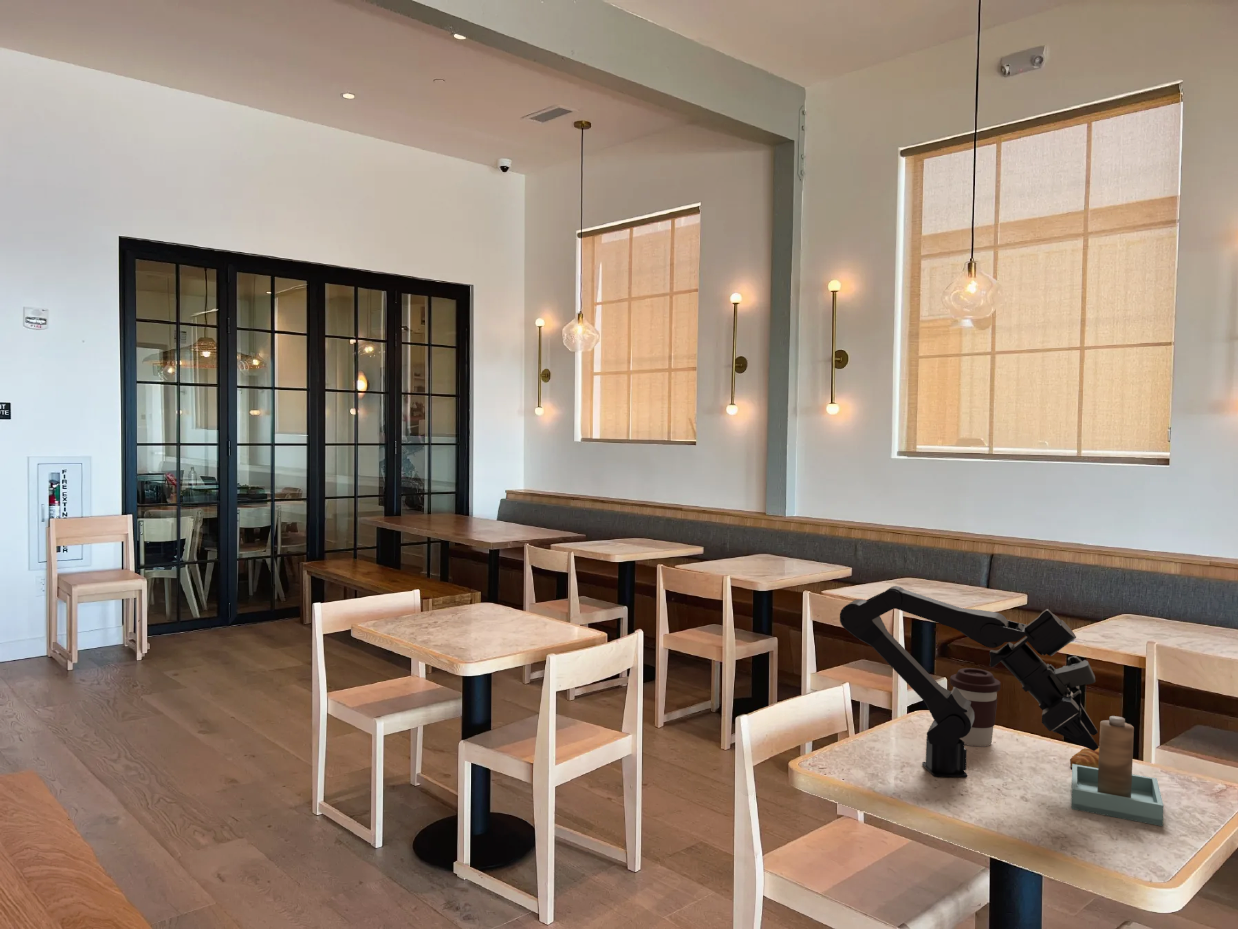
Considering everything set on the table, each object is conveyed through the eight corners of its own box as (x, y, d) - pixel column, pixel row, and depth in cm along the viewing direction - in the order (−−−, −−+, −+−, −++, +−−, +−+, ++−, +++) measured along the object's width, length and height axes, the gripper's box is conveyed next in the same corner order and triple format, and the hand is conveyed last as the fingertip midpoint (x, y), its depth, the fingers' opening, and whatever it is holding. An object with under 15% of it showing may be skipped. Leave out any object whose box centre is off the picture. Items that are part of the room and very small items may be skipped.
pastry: (1090, 777, 167) (1090, 758, 167) (1059, 765, 173) (1060, 746, 173) (1123, 771, 170) (1123, 751, 170) (1092, 759, 177) (1092, 741, 177)
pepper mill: (1119, 805, 151) (1122, 724, 150) (1090, 794, 155) (1094, 715, 155) (1137, 800, 153) (1140, 720, 153) (1108, 789, 158) (1111, 712, 158)
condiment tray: (1071, 808, 152) (1072, 789, 151) (1071, 782, 164) (1072, 764, 163) (1162, 826, 145) (1163, 805, 145) (1156, 797, 157) (1156, 778, 157)
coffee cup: (993, 753, 178) (996, 681, 178) (943, 743, 184) (945, 673, 183) (1002, 739, 187) (1004, 670, 186) (954, 730, 192) (956, 663, 192)
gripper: (1066, 655, 149) (1137, 730, 144) (1067, 635, 166) (1131, 702, 161) (1014, 693, 153) (1082, 767, 148) (1020, 669, 170) (1081, 736, 165)
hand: (1096, 741), depth 156 cm, fingers open, 9 cm apart
